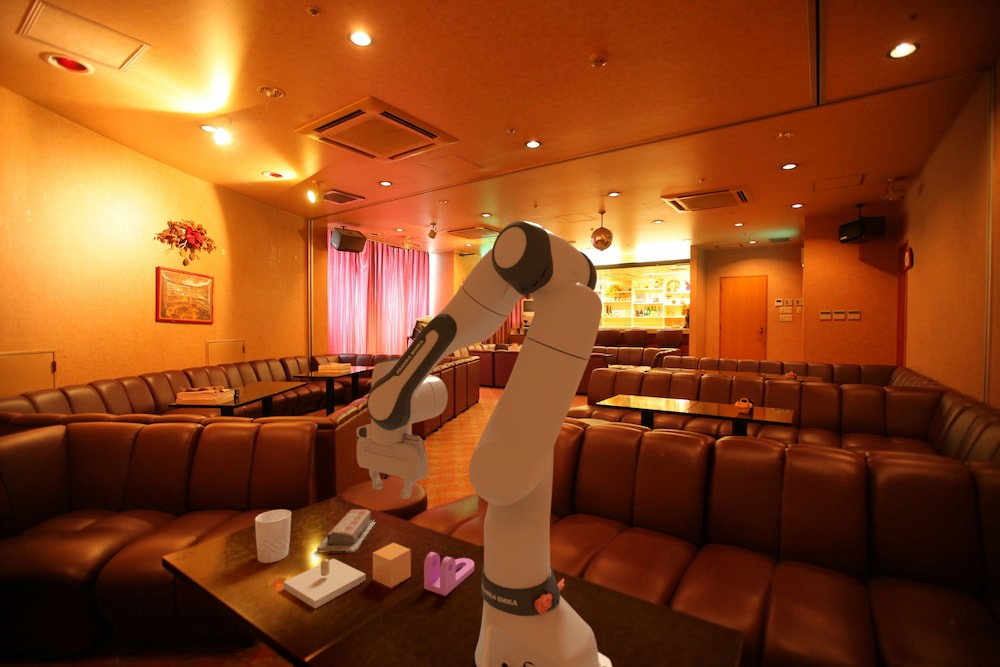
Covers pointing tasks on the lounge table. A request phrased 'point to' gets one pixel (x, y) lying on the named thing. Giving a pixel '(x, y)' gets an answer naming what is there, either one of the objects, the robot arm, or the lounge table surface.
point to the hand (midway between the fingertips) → (391, 493)
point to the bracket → (445, 573)
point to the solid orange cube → (392, 564)
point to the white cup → (273, 535)
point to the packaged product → (348, 532)
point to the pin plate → (324, 582)
